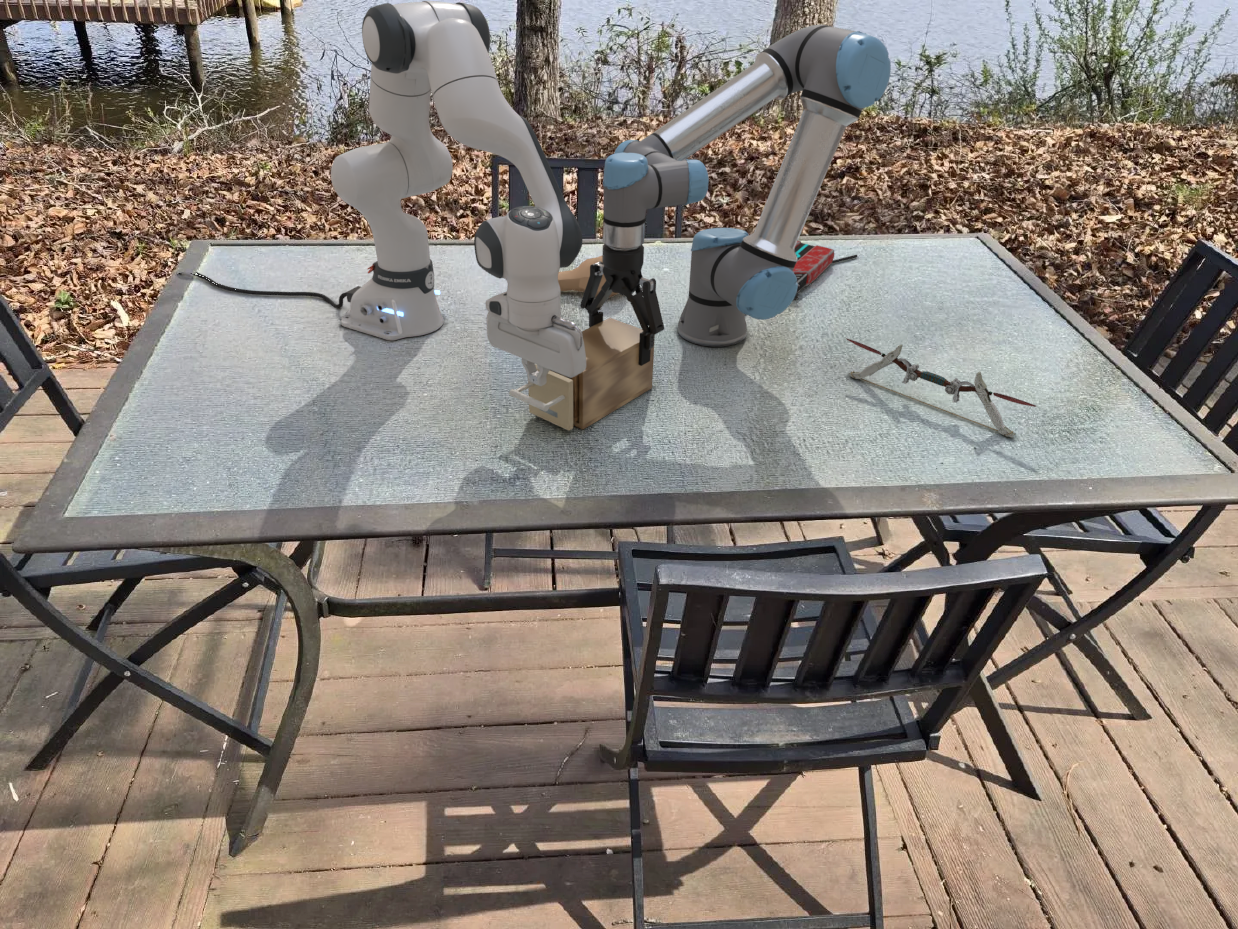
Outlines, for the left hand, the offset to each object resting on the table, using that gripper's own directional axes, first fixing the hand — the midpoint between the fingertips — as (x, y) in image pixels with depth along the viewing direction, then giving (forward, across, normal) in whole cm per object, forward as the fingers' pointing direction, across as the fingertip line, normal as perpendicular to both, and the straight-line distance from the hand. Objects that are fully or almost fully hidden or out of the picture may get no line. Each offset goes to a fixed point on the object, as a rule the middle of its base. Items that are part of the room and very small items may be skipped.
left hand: (537, 382), depth 153 cm
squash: (+10, +35, -55) cm, 66 cm away
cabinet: (+10, 0, -17) cm, 19 cm away
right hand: (+3, 0, -24) cm, 24 cm away
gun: (+10, +6, -97) cm, 98 cm away
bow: (+11, -50, -57) cm, 76 cm away
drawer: (+9, 0, -10) cm, 14 cm away
